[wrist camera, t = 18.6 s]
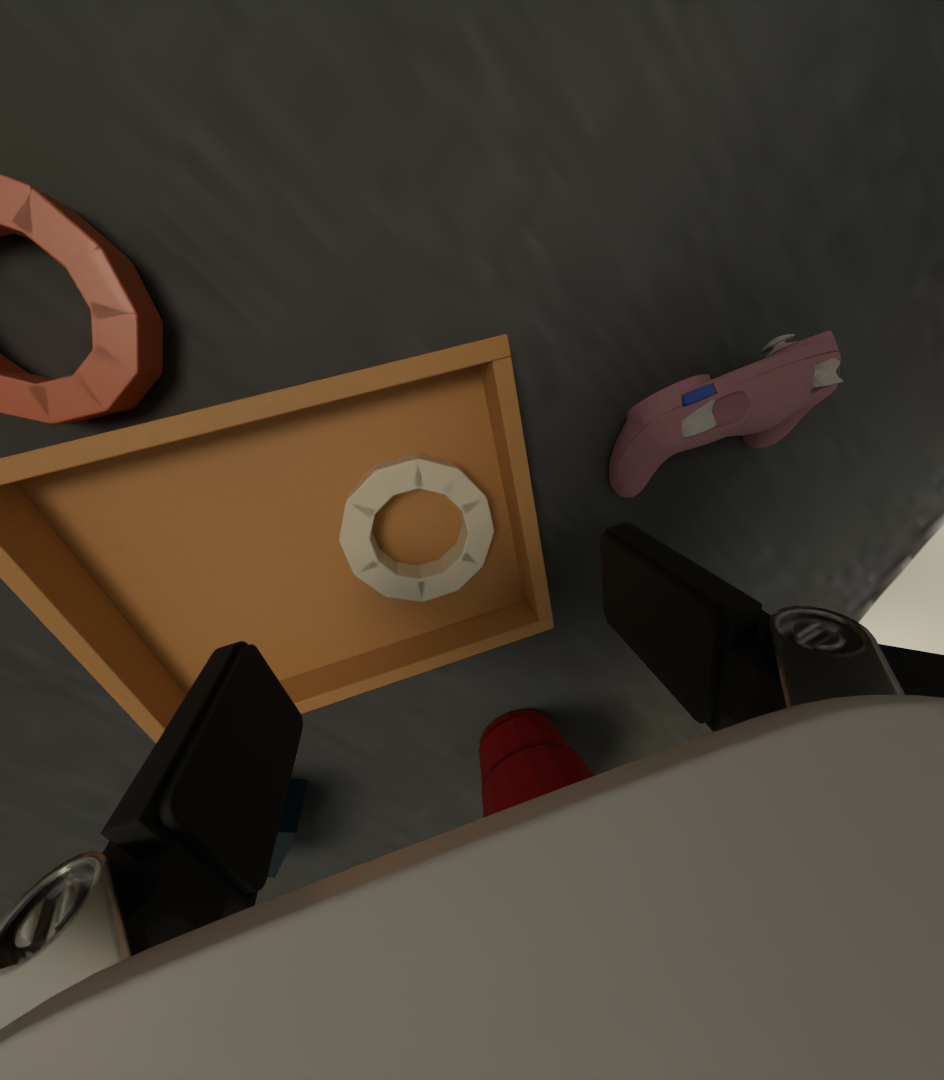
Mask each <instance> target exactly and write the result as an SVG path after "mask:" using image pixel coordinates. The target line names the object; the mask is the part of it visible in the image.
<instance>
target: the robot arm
mask: <svg viewBox="0 0 944 1080" xmlns="http://www.w3.org/2000/svg"><path fill="white" fill-rule="evenodd" d="M600 555H601V571H602V586H603V602H604V613H605V617H606V619H607V621H608V623H609V624H610V625H611V626H612V627H613V629H614V630H615V631H616V632H617V633H618V634H619V635H620V636H621V638H622V639H623V640H624V641H625V642H626V643H627V644H628V645H629V646H630V648H631V649H632V650H633V651H634V652H635V653H636V654H637V655H638V657H639V658H640V659H641V660H642V661H643V662H644V663H645V664H646V666H647V667H648V668H649V669H650V670H651V671H652V672H653V673H654V674H655V676H656V677H657V678H658V679H659V680H660V681H661V682H662V683H663V685H664V686H665V687H666V688H667V689H668V690H669V691H670V692H671V694H672V695H673V696H674V697H675V698H676V699H677V700H678V701H679V702H680V704H681V705H682V706H683V707H684V708H685V709H686V710H687V711H688V713H689V714H690V715H691V716H692V717H693V718H694V719H695V720H696V721H697V722H699V723H706V724H707V725H708V726H709V727H710V729H711V730H712V731H713V732H712V733H710V734H707V735H704V736H701V737H698V738H695V739H693V740H690V741H687V742H684V743H681V744H679V745H676V746H673V747H670V748H668V749H665V750H662V751H660V752H657V753H654V754H652V755H649V756H646V757H644V758H641V759H638V760H636V761H633V762H630V763H628V764H625V765H622V766H620V767H617V768H614V769H612V770H609V771H606V772H603V773H601V774H598V775H595V776H593V777H590V778H587V779H585V780H582V781H579V782H577V783H574V784H571V785H569V786H566V787H563V788H561V789H558V790H555V791H553V792H550V793H547V794H545V795H542V796H539V797H537V798H534V799H532V800H529V801H526V802H524V803H521V804H518V805H516V806H513V807H510V808H508V809H505V810H502V811H500V812H497V813H495V814H492V815H489V816H487V817H484V818H481V819H479V820H476V821H473V822H471V823H468V824H466V825H463V826H460V827H458V828H455V829H452V830H450V831H447V832H445V833H442V834H439V835H437V836H434V837H431V838H429V839H426V840H424V841H421V842H418V843H416V844H413V845H410V846H408V847H405V848H403V849H400V850H397V851H395V852H392V853H389V854H387V855H384V856H382V857H379V858H377V859H374V860H371V861H369V862H366V863H364V864H361V865H358V866H356V867H353V868H351V869H348V870H345V871H343V872H340V873H338V874H335V875H332V876H330V877H327V878H325V879H322V880H319V881H317V882H314V883H312V884H309V885H307V886H304V887H301V888H299V889H296V890H294V891H291V892H288V893H286V894H283V895H281V896H278V897H275V898H273V899H270V900H268V901H265V902H262V903H260V904H257V905H255V902H256V897H257V893H258V891H259V890H261V889H262V888H263V886H264V884H265V883H266V880H267V877H268V872H269V868H270V864H271V860H272V855H273V851H274V847H275V843H276V838H277V834H278V830H279V826H280V821H281V817H282V813H283V809H284V804H285V800H286V796H287V792H288V787H289V783H290V779H291V775H292V770H293V766H294V762H295V758H296V753H297V749H298V745H299V741H300V736H301V732H302V727H303V721H302V716H301V714H300V712H299V710H298V709H297V707H296V706H295V704H294V703H293V701H292V700H291V698H290V697H289V695H288V694H287V692H286V691H285V689H284V688H283V686H282V685H281V683H280V682H279V680H278V679H277V677H276V675H275V674H274V672H273V671H272V669H271V668H270V666H269V665H268V663H267V662H266V660H265V659H264V657H263V656H262V654H261V653H260V651H259V650H258V648H257V647H256V646H255V645H253V644H249V645H248V643H246V642H244V641H239V642H236V643H233V644H230V645H226V646H223V647H220V648H217V649H215V651H214V652H213V653H212V655H211V656H210V658H209V659H208V661H207V663H206V664H205V666H204V667H203V669H202V671H201V672H200V674H199V676H198V677H197V679H196V680H195V682H194V684H193V685H192V687H191V688H190V690H189V692H188V693H187V695H186V696H185V698H184V700H183V701H182V703H181V705H180V706H179V708H178V709H177V711H176V713H175V714H174V716H173V717H172V719H171V721H170V722H169V724H168V725H167V727H166V729H165V730H164V732H163V734H162V735H161V737H160V738H159V740H158V742H157V743H156V745H155V746H154V748H153V750H152V751H151V753H150V755H149V756H148V758H147V759H146V761H145V763H144V764H143V766H142V767H141V769H140V771H139V772H138V774H137V775H136V777H135V779H134V780H133V782H132V784H131V785H130V787H129V788H128V790H127V792H126V793H125V795H124V796H123V798H122V800H121V801H120V803H119V804H118V806H117V808H116V809H115V811H114V813H113V814H112V816H111V817H110V819H109V821H108V822H107V824H106V825H105V827H104V829H103V830H102V832H101V833H100V834H102V835H103V836H104V837H106V838H107V839H108V840H110V841H109V843H108V845H107V846H106V848H105V850H104V851H103V853H102V852H96V851H90V852H86V853H83V854H79V855H77V856H75V857H73V858H71V859H69V860H67V861H66V862H64V863H62V864H60V865H59V866H58V867H56V868H55V869H53V870H52V871H51V872H49V873H48V874H46V875H45V876H44V877H43V878H41V879H40V880H39V881H38V882H37V883H36V884H35V885H34V886H32V887H31V888H30V889H29V890H28V891H27V892H26V893H25V894H24V895H23V896H22V897H21V898H20V899H19V900H18V901H17V902H16V903H15V904H14V905H13V906H12V908H11V909H10V910H9V911H8V912H7V913H6V914H5V915H4V917H3V918H2V919H1V921H0V1080H944V655H940V654H933V653H928V652H922V651H916V650H910V649H904V648H898V647H893V646H886V645H881V644H878V643H877V641H876V639H875V638H874V637H873V635H872V634H871V633H870V632H869V631H868V629H866V628H865V627H864V626H862V625H861V624H859V623H858V622H857V621H855V620H853V619H851V618H849V617H847V616H844V615H842V614H840V613H837V612H833V611H830V610H827V609H822V608H817V607H811V606H791V607H785V608H782V609H779V610H777V611H775V612H774V613H773V614H772V615H769V614H768V613H766V612H765V611H763V610H761V608H762V604H761V603H760V602H758V601H756V600H755V599H753V598H752V597H750V596H748V595H747V594H745V593H743V592H742V591H740V590H738V589H737V588H735V587H734V586H732V585H730V584H729V583H727V582H725V581H724V580H722V579H721V578H719V577H717V576H716V575H714V574H712V573H711V572H709V571H707V570H706V569H704V568H703V567H701V566H699V565H698V564H696V563H694V562H693V561H691V560H689V559H688V558H686V557H685V556H683V555H681V554H680V553H678V552H676V551H675V550H673V549H671V548H670V547H668V546H667V545H665V544H663V543H662V542H660V541H658V540H657V539H655V538H654V537H652V536H650V535H649V534H647V533H645V532H644V531H642V530H640V529H639V528H637V527H636V526H634V525H632V524H631V523H628V522H624V523H621V524H617V525H614V526H611V527H608V528H606V529H605V531H604V534H603V535H601V536H600Z"/></svg>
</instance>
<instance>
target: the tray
mask: <svg viewBox="0 0 944 1080" xmlns="http://www.w3.org/2000/svg"><path fill="white" fill-rule="evenodd" d="M510 355H511V354H510V348H509V341H508V335H507V334H504V335H500V336H496V337H492V338H488V339H484V340H480V341H476V342H471V343H467V344H463V345H459V346H455V347H451V348H447V349H443V350H439V351H435V352H431V353H427V354H423V355H419V356H414V357H410V358H406V359H402V360H398V361H394V362H390V363H386V364H382V365H378V366H374V367H370V368H366V369H362V370H358V371H353V372H349V373H345V374H341V375H337V376H333V377H329V378H325V379H321V380H317V381H313V382H309V383H305V384H301V385H297V386H292V387H288V388H284V389H280V390H276V391H272V392H268V393H264V394H260V395H256V396H252V397H248V398H244V399H240V400H236V401H231V402H227V403H223V404H219V405H215V406H211V407H207V408H203V409H199V410H195V411H191V412H187V413H183V414H179V415H174V416H170V417H166V418H162V419H158V420H154V421H150V422H146V423H142V424H138V425H134V426H130V427H126V428H122V429H118V430H113V431H109V432H105V433H101V434H97V435H93V436H89V437H85V438H81V439H77V440H73V441H69V442H65V443H61V444H57V445H52V446H48V447H44V448H40V449H36V450H32V451H28V452H24V453H20V454H16V455H12V456H8V457H4V458H0V578H1V579H2V580H3V581H4V582H5V583H6V584H7V585H8V586H9V587H10V588H11V590H12V591H13V592H14V593H15V594H16V595H17V596H18V597H19V598H20V599H21V600H22V601H23V602H24V603H25V604H26V606H27V607H28V608H29V609H30V610H31V611H32V612H33V613H34V614H35V615H36V616H37V617H38V618H39V619H40V620H41V621H42V623H43V624H44V625H45V626H46V627H47V628H48V629H49V630H50V631H51V632H52V633H53V634H54V635H55V636H56V637H57V639H58V640H59V641H60V642H61V643H62V644H63V645H64V646H65V647H66V648H67V649H68V650H69V651H70V652H71V653H72V655H73V656H74V657H75V658H76V659H77V660H78V661H79V662H80V663H81V664H82V665H83V666H84V667H85V668H86V669H87V671H88V672H89V673H90V674H91V675H92V676H93V677H94V678H95V679H96V680H97V681H98V682H99V683H100V684H101V685H102V686H103V688H104V689H105V690H106V691H107V692H108V693H109V694H110V695H111V696H112V697H113V698H114V699H115V700H116V701H117V702H118V704H119V705H120V706H121V707H122V708H123V709H124V710H125V711H126V712H127V713H128V714H129V715H130V716H131V717H132V718H133V720H134V721H135V722H136V723H137V724H138V725H139V726H140V727H141V728H142V729H143V730H144V731H145V732H146V733H147V734H148V736H149V737H150V738H151V739H152V740H153V741H154V742H155V743H157V742H158V740H159V738H160V737H161V735H162V734H163V732H164V730H165V729H166V727H167V725H168V724H169V722H170V721H171V719H172V717H173V716H174V714H175V713H176V711H177V709H178V708H179V706H180V705H181V703H182V701H183V700H184V698H185V696H186V695H187V693H188V692H189V690H190V688H191V687H192V685H193V684H194V682H195V680H196V679H197V677H198V676H199V674H200V672H201V671H202V669H203V667H204V666H205V664H206V663H207V661H208V659H209V658H210V656H211V655H212V653H213V652H214V651H215V649H217V648H220V647H223V646H226V645H230V644H233V643H236V642H239V641H244V642H246V643H248V645H249V644H253V645H255V646H256V647H257V648H258V650H259V651H260V653H261V654H262V656H263V657H264V659H265V660H266V662H267V663H268V665H269V666H270V668H271V669H272V671H273V672H274V674H275V675H276V677H277V679H278V680H279V682H280V683H281V685H282V686H283V688H284V689H285V691H286V692H287V694H288V695H289V697H290V698H291V700H292V701H293V703H294V704H295V706H296V707H297V709H298V710H299V712H300V714H302V713H305V712H308V711H311V710H314V709H317V708H320V707H323V706H326V705H329V704H332V703H335V702H338V701H341V700H344V699H347V698H349V697H352V696H355V695H358V694H361V693H364V692H367V691H370V690H373V689H376V688H379V687H382V686H385V685H388V684H391V683H394V682H397V681H399V680H402V679H405V678H408V677H411V676H414V675H417V674H420V673H423V672H426V671H429V670H432V669H435V668H438V667H441V666H444V665H446V664H449V663H452V662H455V661H458V660H461V659H464V658H467V657H470V656H473V655H476V654H479V653H482V652H485V651H488V650H491V649H494V648H496V647H499V646H502V645H505V644H508V643H511V642H514V641H517V640H520V639H523V638H526V637H529V636H532V635H535V634H538V633H541V632H543V631H546V630H549V629H552V628H554V623H553V617H552V610H551V604H550V597H549V591H548V585H547V579H546V572H545V566H544V560H543V554H542V547H541V541H540V535H539V529H538V522H537V516H536V510H535V504H534V497H533V491H532V485H531V479H530V472H529V466H528V460H527V454H526V447H525V441H524V435H523V429H522V422H521V416H520V410H519V403H518V397H517V391H516V385H515V378H514V372H513V366H512V360H511V357H510ZM412 453H420V454H424V455H427V456H431V457H435V458H439V459H443V460H446V461H450V462H453V463H454V464H456V465H457V466H458V467H459V468H460V469H461V470H462V471H463V472H464V473H465V474H466V475H467V476H468V477H469V479H470V480H471V481H472V482H473V483H474V484H475V485H476V486H477V487H478V488H479V489H480V490H481V491H482V492H483V493H484V494H485V495H486V497H487V500H488V504H489V509H490V514H491V518H492V523H493V527H494V535H493V538H492V541H491V544H490V547H489V550H488V553H487V556H486V559H485V562H484V565H483V567H482V568H481V569H480V570H479V571H478V572H477V573H476V574H475V575H474V576H472V577H471V578H470V579H469V580H468V581H467V582H466V583H465V584H464V585H463V586H462V587H461V588H460V589H459V590H458V591H455V592H452V593H449V594H446V595H443V596H440V597H437V598H433V599H430V600H427V601H424V602H418V601H411V600H403V599H396V598H389V597H385V596H383V595H382V594H380V593H379V592H377V591H376V590H375V589H373V588H372V587H370V586H369V585H367V584H366V583H365V582H363V581H362V580H360V579H359V578H358V577H356V576H355V575H354V574H353V572H352V569H351V567H350V565H349V562H348V560H347V558H346V556H345V553H344V551H343V549H342V546H341V544H340V542H339V536H340V531H341V525H342V520H343V514H344V509H345V503H346V500H347V497H348V494H349V492H350V491H351V489H352V488H353V487H354V486H355V485H356V484H357V483H358V482H359V481H360V480H361V479H362V478H363V477H364V476H365V475H366V474H367V473H368V472H369V470H370V469H371V468H372V467H373V466H374V465H375V464H377V463H379V462H383V461H387V460H390V459H394V458H397V457H401V456H405V455H408V454H412ZM461 525H462V522H461V518H460V514H459V510H458V507H457V506H456V505H455V504H454V503H453V502H452V501H451V500H450V499H449V498H448V497H446V496H445V495H444V494H440V493H436V492H431V491H427V490H423V489H415V490H412V491H408V492H405V493H401V494H398V495H394V496H393V497H392V498H391V499H390V500H389V501H388V502H387V503H386V504H385V505H384V506H383V507H382V508H381V509H380V510H379V511H378V512H377V513H376V514H375V517H374V522H373V526H372V531H373V534H374V536H375V539H376V541H377V544H378V547H379V549H381V550H382V551H383V552H384V553H386V554H387V555H388V556H390V557H391V558H392V559H393V560H395V561H396V562H401V563H407V564H413V565H422V564H425V563H428V562H431V561H435V560H438V559H440V558H441V557H442V556H443V555H444V554H446V553H447V552H448V551H449V550H450V549H451V548H452V547H453V546H454V545H455V544H456V542H457V539H458V535H459V532H460V528H461Z"/></svg>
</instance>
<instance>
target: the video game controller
mask: <svg viewBox="0 0 944 1080" xmlns="http://www.w3.org/2000/svg"><path fill="white" fill-rule="evenodd" d="M794 336H795V335H794V334H790V335H789V334H787V335H782V336H779V337H777V338H775V339H773V340H771V341H770V342H768V343H767V345H766V346H765V347H764V348H763V349H762V350H761V353H765V352H768V351H770V350H771V351H770V352H769V353H768V354H767V355H766V356H765V357H764V358H763V359H762V360H760V361H757V362H755V363H752V364H749V365H747V366H744V367H742V368H739V369H737V370H734V371H732V372H729V373H727V374H724V375H722V376H719V377H717V378H714V379H712V380H711V378H710V376H709V374H701V375H696V376H693V377H689V378H687V379H684V380H682V381H679V382H677V383H675V384H673V385H671V386H668V387H666V388H664V389H662V390H660V391H658V392H656V393H654V394H652V395H650V396H649V397H647V398H645V399H644V400H642V401H641V402H639V403H638V404H636V405H634V406H633V407H632V408H631V409H630V410H628V411H627V413H626V416H627V421H626V423H625V425H624V427H623V429H622V430H621V432H620V434H619V436H618V438H617V441H616V443H615V445H614V447H613V451H612V454H611V458H610V462H609V481H610V485H611V487H612V488H613V490H614V491H615V492H616V493H617V494H618V495H619V496H622V497H624V498H631V497H634V496H635V495H637V494H638V493H640V492H641V491H642V490H643V489H644V487H645V486H646V484H647V483H648V481H649V480H650V478H651V477H652V475H653V474H654V473H655V471H656V470H657V469H658V467H659V466H660V465H661V464H662V463H663V462H664V461H665V460H666V459H667V458H669V457H670V456H672V455H674V454H675V453H678V452H682V451H685V450H689V449H692V448H696V447H699V446H703V445H705V444H708V443H711V442H714V441H716V440H719V439H722V438H724V437H727V436H742V439H743V441H744V442H745V443H746V444H747V445H749V446H751V447H753V448H766V447H768V446H770V445H773V444H775V443H777V442H778V441H780V440H781V439H782V438H783V437H785V436H786V435H787V434H788V433H789V432H790V431H791V430H792V429H793V428H794V427H795V425H796V424H797V423H798V422H799V421H800V420H801V419H802V417H803V416H804V415H805V414H806V413H807V412H808V411H809V410H811V409H812V408H813V407H814V406H815V405H816V404H818V403H819V402H820V401H822V400H823V399H825V398H827V397H828V396H829V395H830V394H831V393H832V392H833V391H834V390H835V389H836V388H837V384H838V383H841V382H843V380H842V379H841V378H839V371H840V363H841V354H840V353H839V349H838V346H837V344H836V341H835V338H834V336H833V333H832V332H831V331H827V332H823V333H820V334H817V335H815V336H812V337H810V338H808V339H805V340H800V341H797V342H796V341H795V342H788V341H790V340H791V339H792V338H793V337H794ZM786 342H788V343H786Z"/></svg>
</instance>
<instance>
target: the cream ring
mask: <svg viewBox="0 0 944 1080" xmlns="http://www.w3.org/2000/svg"><path fill="white" fill-rule="evenodd" d="M415 489H423V490H427V491H431V492H436V493H440V494H444V495H445V496H446V497H448V498H449V499H450V500H451V501H452V502H453V503H454V504H455V505H456V506H457V507H458V510H459V514H460V518H461V522H462V525H461V528H460V532H459V535H458V539H457V542H456V544H455V545H454V546H453V547H452V548H451V549H450V550H449V551H448V552H447V553H446V554H444V555H443V556H442V557H441V558H440V559H438V560H435V561H431V562H428V563H425V564H422V565H413V564H407V563H401V562H396V561H395V560H393V559H392V558H391V557H390V556H388V555H387V554H386V553H384V552H383V551H382V550H381V549H379V547H378V544H377V541H376V539H375V536H374V534H373V531H372V526H373V522H374V517H375V514H376V513H377V512H378V511H379V510H380V509H381V508H382V507H383V506H384V505H385V504H386V503H387V502H388V501H389V500H390V499H391V498H392V497H393V496H394V495H398V494H401V493H405V492H408V491H412V490H415ZM493 535H494V527H493V523H492V518H491V514H490V509H489V504H488V500H487V497H486V495H485V494H484V493H483V492H482V491H481V490H480V489H479V488H478V487H477V486H476V485H475V484H474V483H473V482H472V481H471V480H470V479H469V477H468V476H467V475H466V474H465V473H464V472H463V471H462V470H461V469H460V468H459V467H458V466H457V465H456V464H454V463H453V462H450V461H446V460H443V459H439V458H435V457H431V456H427V455H424V454H420V453H412V454H408V455H405V456H401V457H397V458H394V459H390V460H387V461H383V462H379V463H377V464H375V465H374V466H373V467H372V468H371V469H370V470H369V472H368V473H367V474H366V475H365V476H364V477H363V478H362V479H361V480H360V481H359V482H358V483H357V484H356V485H355V486H354V487H353V488H352V489H351V491H350V492H349V494H348V497H347V500H346V503H345V509H344V514H343V520H342V525H341V531H340V536H339V542H340V544H341V546H342V549H343V551H344V553H345V556H346V558H347V560H348V562H349V565H350V567H351V569H352V572H353V574H354V575H355V576H356V577H358V578H359V579H360V580H362V581H363V582H365V583H366V584H367V585H369V586H370V587H372V588H373V589H375V590H376V591H377V592H379V593H380V594H382V595H383V596H385V597H389V598H396V599H403V600H411V601H418V602H424V601H427V600H430V599H433V598H437V597H440V596H443V595H446V594H449V593H452V592H455V591H458V590H459V589H460V588H461V587H462V586H463V585H464V584H465V583H466V582H467V581H468V580H469V579H470V578H471V577H472V576H474V575H475V574H476V573H477V572H478V571H479V570H480V569H481V568H482V567H483V565H484V562H485V559H486V556H487V553H488V550H489V547H490V544H491V541H492V538H493Z"/></svg>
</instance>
